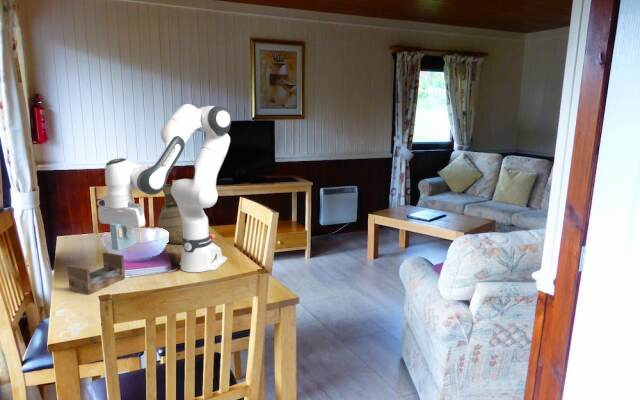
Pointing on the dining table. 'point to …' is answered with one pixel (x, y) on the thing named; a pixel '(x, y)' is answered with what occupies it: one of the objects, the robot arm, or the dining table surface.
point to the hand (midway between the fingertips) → (123, 236)
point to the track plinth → (97, 275)
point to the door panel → (121, 236)
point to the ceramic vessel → (171, 217)
